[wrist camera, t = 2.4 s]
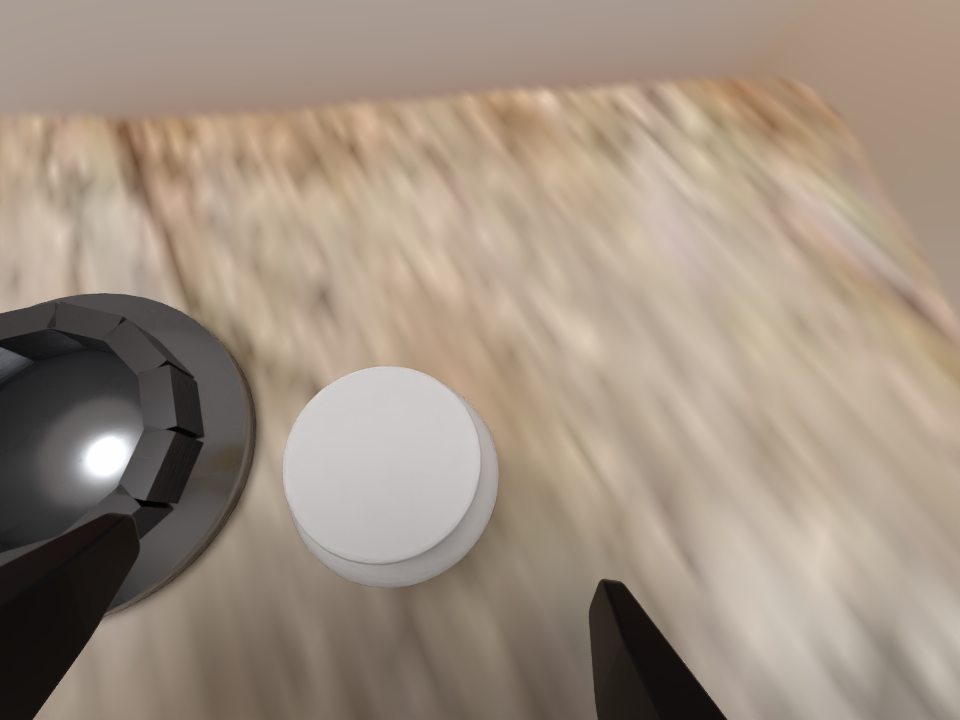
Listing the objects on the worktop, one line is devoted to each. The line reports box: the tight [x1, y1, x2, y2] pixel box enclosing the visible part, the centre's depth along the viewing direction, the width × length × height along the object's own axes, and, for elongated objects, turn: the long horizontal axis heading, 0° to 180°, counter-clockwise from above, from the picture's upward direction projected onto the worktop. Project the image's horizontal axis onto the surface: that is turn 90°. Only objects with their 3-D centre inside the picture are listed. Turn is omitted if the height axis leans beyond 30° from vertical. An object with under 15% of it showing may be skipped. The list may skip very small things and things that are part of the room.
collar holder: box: [0, 293, 256, 617], centre depth 17 cm, size 12×12×3 cm
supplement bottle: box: [282, 366, 499, 588], centre depth 14 cm, size 5×5×10 cm
